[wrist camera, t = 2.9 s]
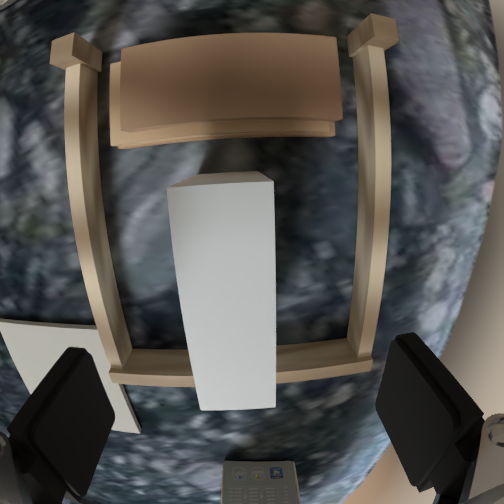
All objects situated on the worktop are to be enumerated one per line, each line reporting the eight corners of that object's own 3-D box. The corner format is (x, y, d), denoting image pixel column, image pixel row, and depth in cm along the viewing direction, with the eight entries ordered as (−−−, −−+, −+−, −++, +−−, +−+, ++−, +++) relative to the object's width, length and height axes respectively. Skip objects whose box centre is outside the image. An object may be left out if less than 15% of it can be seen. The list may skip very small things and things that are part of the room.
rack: (82, 57, 14) (52, 40, 10) (367, 40, 15) (395, 19, 11) (121, 358, 21) (104, 391, 17) (360, 346, 21) (379, 378, 18)
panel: (197, 174, 17) (166, 187, 9) (257, 170, 17) (273, 181, 10) (211, 324, 20) (200, 410, 13) (262, 322, 20) (275, 407, 13)
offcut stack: (125, 72, 15) (95, 52, 10) (322, 60, 15) (347, 35, 11) (127, 149, 16) (94, 148, 12) (327, 137, 17) (355, 132, 12)
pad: (0, 318, 19) (-4, 321, 19) (102, 325, 20) (99, 329, 19) (45, 412, 23) (43, 415, 22) (141, 429, 23) (140, 433, 23)
